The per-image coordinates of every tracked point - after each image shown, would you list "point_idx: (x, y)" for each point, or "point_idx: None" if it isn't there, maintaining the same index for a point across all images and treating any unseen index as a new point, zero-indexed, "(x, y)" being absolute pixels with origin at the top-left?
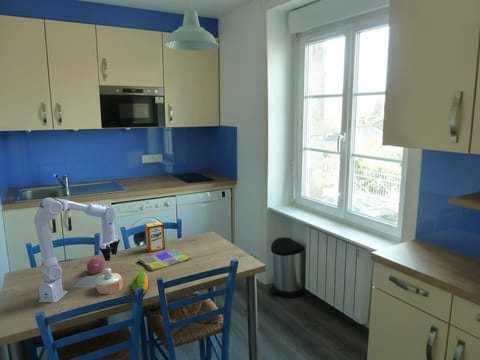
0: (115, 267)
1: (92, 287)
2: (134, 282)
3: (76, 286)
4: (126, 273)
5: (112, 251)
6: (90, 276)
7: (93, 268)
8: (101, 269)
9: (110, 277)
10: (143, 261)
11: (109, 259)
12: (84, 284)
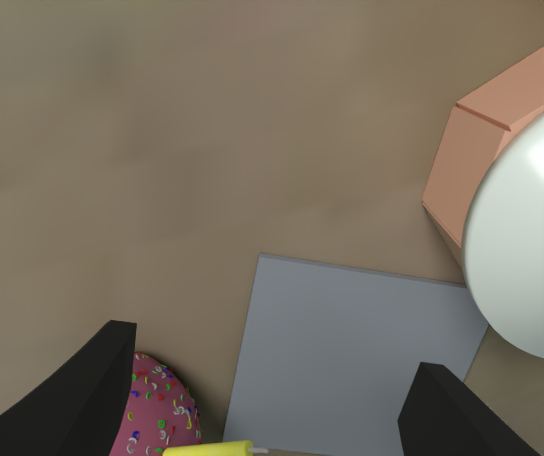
0: (2, 243)
1: (477, 335)
2: None
3: None
4: (175, 75)
5: (109, 430)
6: (236, 406)
7: (191, 441)
8: (138, 363)
9: None
10: None
11: (459, 379)
12: (395, 407)
